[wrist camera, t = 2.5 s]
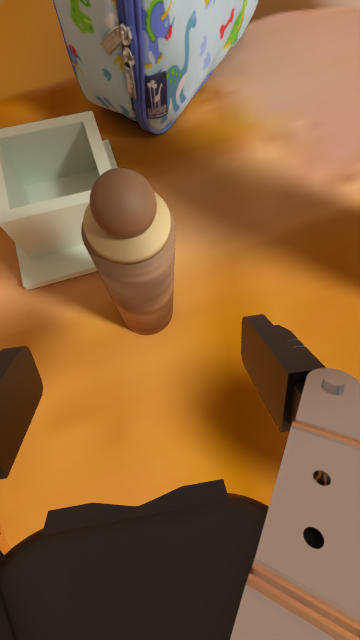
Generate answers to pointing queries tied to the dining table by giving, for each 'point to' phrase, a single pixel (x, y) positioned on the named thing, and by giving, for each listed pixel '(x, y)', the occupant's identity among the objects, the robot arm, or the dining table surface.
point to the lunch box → (149, 51)
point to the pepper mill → (132, 247)
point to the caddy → (50, 193)
